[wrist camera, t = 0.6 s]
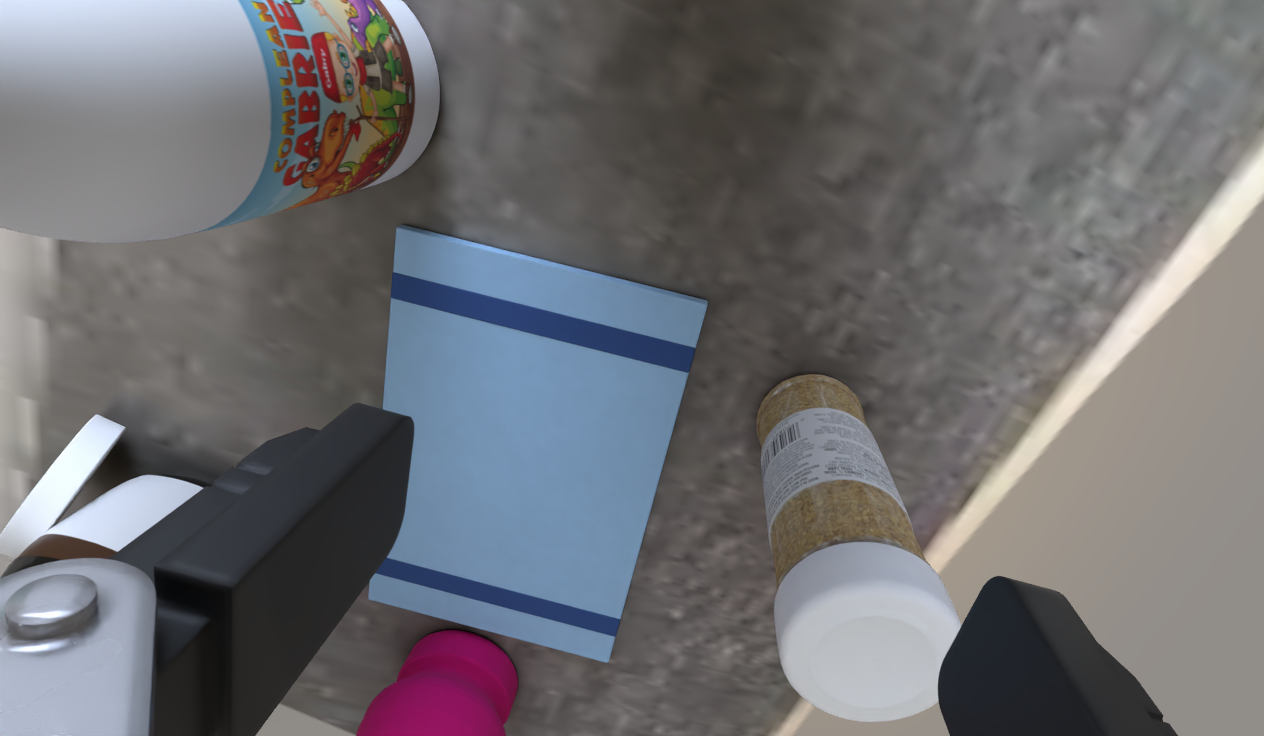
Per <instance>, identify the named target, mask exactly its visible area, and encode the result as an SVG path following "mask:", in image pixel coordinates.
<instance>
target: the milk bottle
mask: <svg viewBox="0 0 1264 736" xmlns="http://www.w3.org/2000/svg"><path fill="white" fill-rule="evenodd" d="M439 103H440V84H439V75H438V69H437V65H436V61H435V57H434V54H433V51H432V48H431V45H430V43H429V41H428V38H427V36H426V34H425V32H424V30H423V28H422V27H421V25H420V23H419V22H418V20H417V19H416V17H415V16H414V14H413V13H412V12H411V10H410V9H409V8H408V6H407V5H406V4H405V3H404V2H403V1H402V0H0V228H5V229H9V230H13V231H17V232H21V233H26V234H32V235H37V236H42V237H47V238H54V239H61V240H70V241H80V242H96V243H126V242H139V241H149V240H159V239H166V238H172V237H177V236H182V235H187V234H191V233H196V232H201V231H205V230H210V229H215V228H219V227H224V226H228V225H232V224H235V223H239V222H243V221H247V220H251V219H254V218H258V217H262V216H266V215H270V214H273V213H277V212H281V211H285V210H289V209H292V208H296V207H299V206H303V205H307V204H310V203H314V202H317V201H321V200H325V199H328V198H332V197H335V196H339V195H343V194H346V193H350V192H353V191H357V190H360V189H364V188H367V187H370V186H374V185H377V184H379V183H382V182H385V181H387V180H390V179H392V178H394V177H396V176H398V175H399V174H401V173H403V172H404V171H405V170H407V169H408V168H409V167H410V166H411V165H412V164H413V163H414V162H415V161H416V160H417V159H418V158H419V157H420V156H421V154H422V153H423V151H424V150H425V148H426V147H427V145H428V143H429V141H430V139H431V137H432V134H433V132H434V129H435V125H436V122H437V118H438V112H439Z"/></svg>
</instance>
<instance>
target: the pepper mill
mask: <svg viewBox="0 0 1264 736" xmlns="http://www.w3.org/2000/svg"><path fill="white" fill-rule="evenodd" d="M517 689H518V678H517V673H516V670H515V667H514V666H513V664H512V662H511V661H510V659H509V657H508V656H507V655H506V654H505V653H504V652H503V651H502V650H501V649H500V648H499V647H498V646H496V645H495V644H494V643H492V642H491V641H489V640H488V639H485V638H483V637H481V636H479V635H476V634H474V633H470V632H465V631H459V630H444V631H440V632H436V633H432V634H429V635H427V636H426V637H424V638H422V639H421V640H420V641H419V642H418V643H417V644H416V645H415V646H414V647H413V648H412V650H411V652H410V654H409V656H408V657H407V659H406V661H405V663H404V664H403V666H402V668H401V670H400V672H399V674H398V677H397V682H395V683H393V684H392V685H390V686H388V687H387V688H385V689H384V690H383V691H382V692H381V693H380V694H379V695H377V696H376V697H375V699H374V700H373V701H372V702H371V704H370V705H369V707H368V709H367V711H366V713H365V716H364V718H363V720H362V722H361V724H360V726H359V729H358V731H357V735H356V736H506V735H505V730H504V727H503V725H504V724H505V722H506V721H507V719H508V717H509V714H510V711H511V708H512V705H513V702H514V699H515V697H516V693H517Z"/></svg>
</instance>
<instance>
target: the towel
mask: <svg viewBox="0 0 1264 736" xmlns="http://www.w3.org/2000/svg"><path fill="white" fill-rule="evenodd" d="M707 306H708V301H707V300H703V299H699V298H695V297H691V296H687V295H683V294H679V293H675V292H671V291H667V290H663V289H659V288H655V287H651V286H647V285H643V284H639V283H635V282H631V281H627V280H623V279H619V278H615V277H611V276H607V275H603V274H599V273H595V272H591V271H587V270H583V269H579V268H575V267H571V266H566V265H562V264H558V263H554V262H550V261H546V260H542V259H538V258H534V257H530V256H526V255H522V254H518V253H514V252H510V251H506V250H502V249H498V248H494V247H490V246H486V245H482V244H478V243H474V242H470V241H466V240H462V239H458V238H454V237H450V236H446V235H442V234H438V233H434V232H430V231H426V230H422V229H418V228H414V227H410V226H406V225H401V226H399V227H397V228H396V240H395V253H394V266H393V275H392V288H391V306H390V319H389V332H388V345H387V359H386V372H385V385H384V398H383V410H387V411H391V412H395V413H398V414H402V415H406V416H410V417H411V418H412V419H413V422H414V440H413V449H412V457H411V465H410V474H409V482H408V490H407V498H406V507H405V513H404V518H403V522H402V526H401V529H400V532H399V534H398V537H397V539H396V542H395V544H394V546H393V548H392V550H391V551H390V553H389V555H388V556H387V558H386V559H385V560H384V562H383V563H382V564H381V566H380V567H379V569H378V570H377V571H376V573H375V574H374V575H373V577H372V578H371V579H370V582H369V596H368V599H369V600H373V601H377V602H380V603H384V604H388V605H392V606H395V607H399V608H403V609H407V610H410V611H414V612H418V613H422V614H425V615H429V616H433V617H437V618H440V619H444V620H448V621H452V622H455V623H459V624H463V625H467V626H471V627H474V628H478V629H482V630H486V631H489V632H493V633H497V634H501V635H504V636H508V637H512V638H516V639H519V640H523V641H527V642H531V643H534V644H538V645H542V646H546V647H549V648H553V649H557V650H561V651H565V652H568V653H572V654H576V655H580V656H583V657H587V658H591V659H595V660H598V661H602V662H606V663H608V662H609V659H610V655H611V652H612V648H613V644H614V641H615V637H616V634H617V630H618V627H619V623H620V619H621V616H622V612H623V608H624V605H625V601H626V598H627V594H628V590H629V587H630V583H631V580H632V576H633V572H634V569H635V565H636V562H637V558H638V554H639V551H640V547H641V544H642V540H643V536H644V533H645V529H646V526H647V522H648V518H649V515H650V511H651V508H652V504H653V500H654V497H655V493H656V490H657V486H658V482H659V479H660V475H661V471H662V468H663V464H664V461H665V457H666V453H667V450H668V446H669V443H670V439H671V435H672V432H673V428H674V425H675V421H676V417H677V414H678V410H679V407H680V403H681V399H682V396H683V392H684V389H685V385H686V381H687V378H688V374H689V371H690V367H691V364H692V360H693V356H694V353H695V349H696V345H697V342H698V338H699V335H700V331H701V327H702V324H703V320H704V317H705V313H706V309H707Z"/></svg>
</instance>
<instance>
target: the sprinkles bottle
mask: <svg viewBox="0 0 1264 736" xmlns="http://www.w3.org/2000/svg"><path fill="white" fill-rule="evenodd" d="M756 422H757V436H758V438H759V441H760V443H761V449H762V452H761V470H762V481H763V490H764V499H765V508H766V518H767V527H768V536H769V543H770V548H771V551H772V553H773V558H774V565H775V572H776V580H777V591H776V595H775V602H774V620H775V629H776V638H777V644H778V651H779V657H780V661H781V665H782V668H783V671H784V673H785V675H786V677H787V679H788V681H789V682H790V684H791V685H792V686H793V688H794V689H795V690H796V691H797V692H798V693H799V694H800V695H801V696H802V697H803V698H804V699H805V700H807V701H808V702H809V703H811V704H812V705H814V706H815V707H817V708H819V709H821V710H823V711H825V712H827V713H829V714H832V715H834V716H837V717H841V718H845V719H849V720H855V721H863V722H882V721H891V720H897V719H901V718H905V717H909V716H912V715H915V714H917V713H919V712H922V711H923V710H926V709H928V708H930V707H931V706H933V705H934V704H936V703H937V702H938V701H939V700H938V678H939V672H940V668H941V665H942V662H943V660H944V658H945V656H946V654H947V652H948V650H949V648H950V646H951V645H952V643H953V641H954V639H955V637H956V635H957V634H958V632H959V630H960V628H961V626H962V625H961V623H960V620H959V618H958V615H957V613H956V610H955V608H954V606H953V603H952V601H951V599H950V597H949V594H948V592H947V590H946V588H945V586H944V584H943V582H942V580H941V578H940V577H939V575H938V574H937V573H936V572H935V570H934V569H933V568H932V567H931V566H930V564H928V563H927V562H926V560H925V558H924V556H923V553H922V550H921V548H920V546H919V544H918V541H917V539H916V537H915V535H914V532H913V529H912V524H911V521H910V518H909V516H908V514H907V511H906V509H905V507H904V504H903V502H902V500H901V498H900V495H899V493H898V491H897V488H896V486H895V484H894V482H893V479H892V477H891V474H890V472H889V470H888V467H887V465H886V463H885V460H884V458H883V456H882V454H881V452H880V450H879V447H878V445H877V443H876V441H875V439H874V437H873V435H872V433H871V432H870V430H869V429H868V427H867V424H866V422H865V418H864V413H863V409H862V407H861V404H860V402H859V399H858V397H857V396H856V394H855V393H853V392H852V391H851V390H850V389H849V388H848V387H847V386H846V385H845V384H843V383H841V382H840V381H838V380H837V379H834V378H831V377H827V376H825V375H822V374H821V375H817V374H809V375H801V376H796V377H794V378H790V379H787V380H785V381H783V382H781V383H780V384H778V385H777V386H776V387H775V388H773V389H772V390H771V391H770V392H769V394H768V395H767V396H766V397H765V398H764V399H763V401H762V403H761V405H760V408H759V410H758V414H757V418H756Z"/></svg>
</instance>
